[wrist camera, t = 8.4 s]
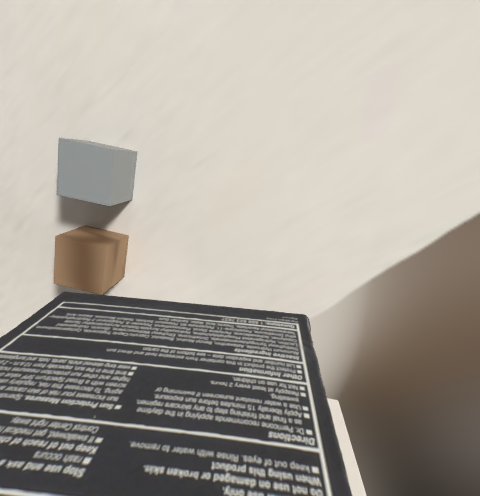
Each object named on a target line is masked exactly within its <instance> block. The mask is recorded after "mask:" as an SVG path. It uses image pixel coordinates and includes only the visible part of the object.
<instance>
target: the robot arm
mask: <svg viewBox="0 0 480 496" xmlns="http://www.w3.org/2000/svg"><path fill="white" fill-rule="evenodd" d="M327 400H328V403H329V407H330V410H331V414H332V418H333V423H334V427H335V431H336V434H337V438H338V441H339V445H340V449H341V452H342V456H343V461H344V464H345V468H346V471H347V476H348V481H349V485H350V488H351V492H352V496H366V493H365V490H364V486H363V483H362V479H361V477H360V473H359V470H358V466H357V463H356V459H355V456H354V453H353V449H352V446H351V442H350V439H349V436H348V433H347V429H346V426H345V423H344V419H343V416H342V412H341V409H340V406H339V402H338V401H337V400H333V399H329V398H327Z"/></svg>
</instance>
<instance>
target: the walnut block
mask: <svg viewBox="0 0 480 496" xmlns="http://www.w3.org/2000/svg"><path fill="white" fill-rule="evenodd" d="M128 237H129V236H128V235H124V234H119V233H115V232H111V231H106V230H102V229H98V228H93V227H89V226H82V227H79V228H77V229H74V230H71V231H68V232H65V233H63V234H60V235H57V236H56V237H55V262H54V284H58V285H62V286H67V287H71V288H75V289H79V290H83V291H88V292H92V293H96V294H100V295H102V294H104V293H105V292H106V291H107V290H109V289H110V288H111V287H112V286H113V285H115V284H116V283H117V282H118V281H120V280H121V279H122V278H123V277H124V273H125V264H126V255H127V246H128Z"/></svg>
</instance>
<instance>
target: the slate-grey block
mask: <svg viewBox="0 0 480 496" xmlns="http://www.w3.org/2000/svg"><path fill="white" fill-rule="evenodd" d="M136 159H137V151H132V150H128V149H123V148H118V147H114V146H109V145H105V144H100V143H95V142H91V141H82V140H73V139H64V138H59V145H58V176H57V195H61V196H65V197H70V198H74V199H79V200H83V201H88V202H92V203H97V204H101V205H106V206H113V205H116V204H119V203H123V202H126V201H130V200H132V198H133V188H134V178H135V169H136Z"/></svg>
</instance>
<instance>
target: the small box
mask: <svg viewBox="0 0 480 496" xmlns="http://www.w3.org/2000/svg"><path fill="white" fill-rule="evenodd" d="M310 330H311V329H310V322H309V318H308V317H307V316H306V315H303V314H292V313H284V312H275V311H264V310H252V309H243V308H232V307H224V306H211V305H202V304H190V303H179V302H169V301H158V300H149V299H138V298H127V297H117V296H106V295H95V294H82V293H71V292H63V293H62V294H60V295H59V296H57V297H56V298H55V299H54V300H52V301H51V302H49V303H48V304H47V305H45V306H44V307H43V308H41V309H40V310H39V311H37V312H36V313H35V314H33V315H32V316H31V317H30V318H28V319H27V320H25V321H23V322H22V323H21V324H20V325H18V326H17V327H16V328H14V329H13V330H11V331H10V332H9V333H7V334H6V335H4V336H2V337H1V338H0V496H352V492H351V488H350V485H349V481H348V476H347V471H346V468H345V464H344V461H343V456H342V452H341V449H340V445H339V441H338V438H337V434H336V431H335V427H334V423H333V418H332V414H331V410H330V407H329V403H328V400H327V396H326V392H325V388H324V385H323V381H322V378H321V374H320V368H319V364H318V360H317V356H316V353H315V350H314V347H313V341H312V338H311V334H310Z"/></svg>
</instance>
